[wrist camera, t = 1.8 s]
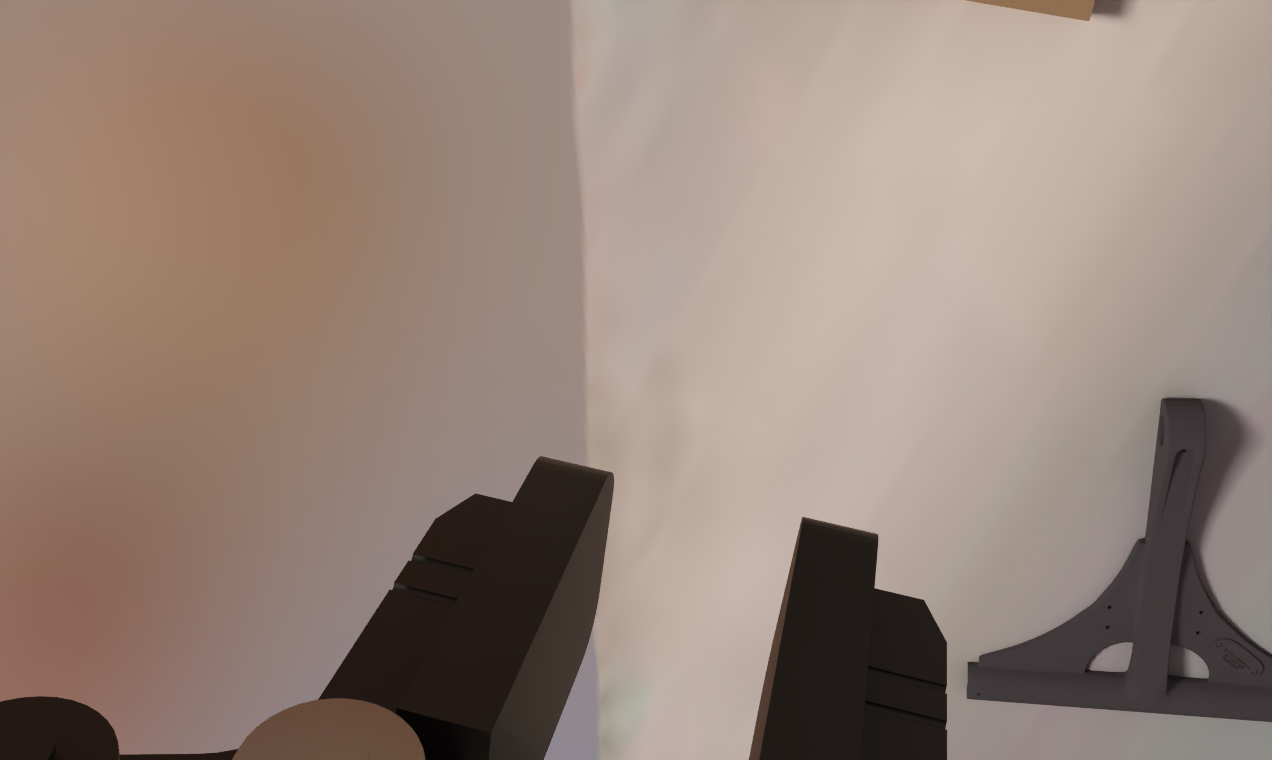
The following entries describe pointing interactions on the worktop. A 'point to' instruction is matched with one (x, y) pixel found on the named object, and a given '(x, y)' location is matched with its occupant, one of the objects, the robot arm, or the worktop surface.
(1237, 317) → the worktop surface
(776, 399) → the worktop surface
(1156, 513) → the bracket
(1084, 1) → the soap dispenser
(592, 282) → the worktop surface
